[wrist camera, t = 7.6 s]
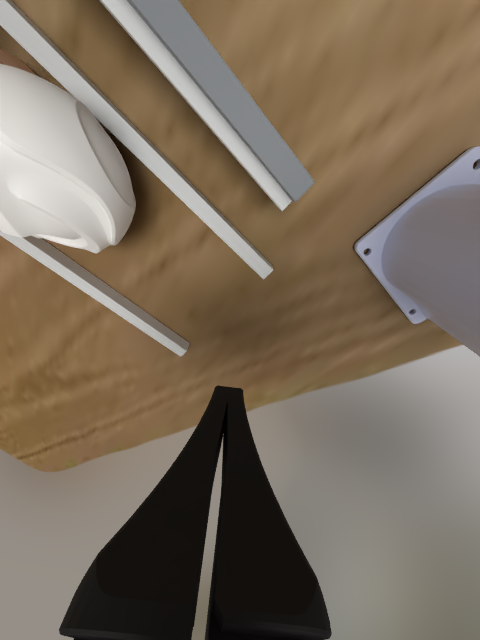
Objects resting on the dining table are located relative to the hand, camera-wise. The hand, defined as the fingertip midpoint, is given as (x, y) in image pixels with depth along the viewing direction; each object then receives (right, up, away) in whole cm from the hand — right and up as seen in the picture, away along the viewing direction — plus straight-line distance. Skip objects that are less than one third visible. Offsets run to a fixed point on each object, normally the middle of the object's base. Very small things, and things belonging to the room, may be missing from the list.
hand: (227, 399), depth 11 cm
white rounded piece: (-9, +14, +4) cm, 17 cm away
